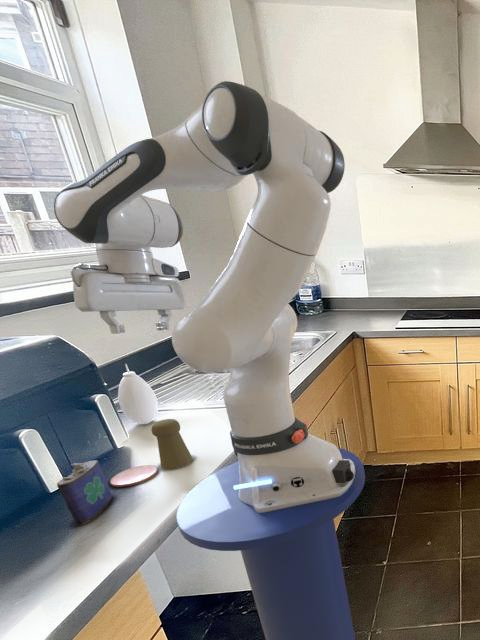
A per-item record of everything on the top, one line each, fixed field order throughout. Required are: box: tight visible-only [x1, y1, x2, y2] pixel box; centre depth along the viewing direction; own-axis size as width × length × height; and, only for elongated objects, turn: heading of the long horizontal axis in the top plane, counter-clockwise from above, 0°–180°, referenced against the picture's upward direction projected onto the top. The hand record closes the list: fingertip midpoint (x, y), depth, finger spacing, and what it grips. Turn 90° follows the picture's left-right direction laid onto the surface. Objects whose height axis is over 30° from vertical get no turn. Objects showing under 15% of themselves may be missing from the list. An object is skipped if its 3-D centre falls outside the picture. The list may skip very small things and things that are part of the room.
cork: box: [150, 418, 193, 471], centre depth 97 cm, size 6×6×11 cm
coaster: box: [109, 464, 159, 488], centre depth 93 cm, size 8×8×1 cm
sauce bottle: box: [117, 363, 159, 425], centre depth 116 cm, size 8×8×18 cm
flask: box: [56, 459, 113, 526], centre depth 81 cm, size 9×3×11 cm, turn 15°
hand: (142, 331), depth 91 cm, fingers open, 8 cm apart
